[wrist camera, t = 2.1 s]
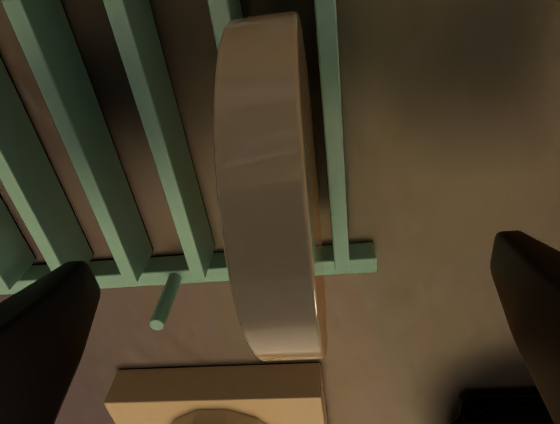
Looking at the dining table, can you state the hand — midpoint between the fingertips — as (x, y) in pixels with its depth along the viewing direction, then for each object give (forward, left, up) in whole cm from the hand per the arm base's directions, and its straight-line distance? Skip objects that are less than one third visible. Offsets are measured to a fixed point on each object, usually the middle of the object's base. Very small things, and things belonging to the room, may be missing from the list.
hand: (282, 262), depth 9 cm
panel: (+6, +18, -8) cm, 21 cm away
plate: (0, 0, -8) cm, 8 cm away
